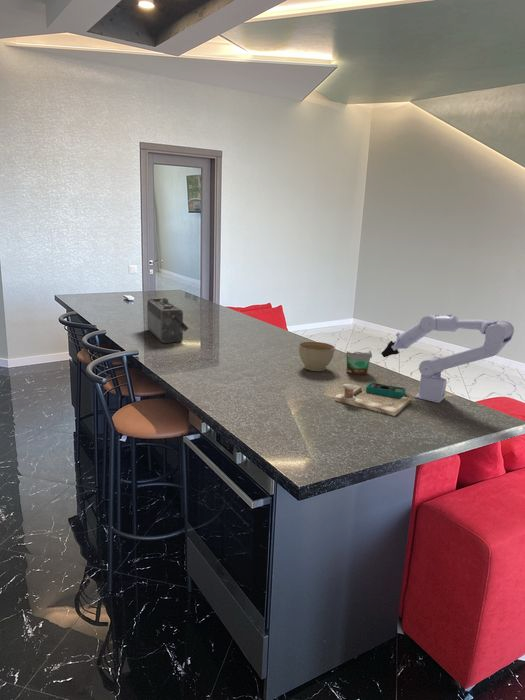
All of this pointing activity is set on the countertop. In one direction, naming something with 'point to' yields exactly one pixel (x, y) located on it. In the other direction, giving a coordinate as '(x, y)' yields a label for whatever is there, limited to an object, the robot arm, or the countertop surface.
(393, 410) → the notched board
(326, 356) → the planter bowl
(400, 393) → the digital multimeter
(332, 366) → the countertop surface
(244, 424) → the countertop surface
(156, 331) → the radio
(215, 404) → the countertop surface
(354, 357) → the food container
